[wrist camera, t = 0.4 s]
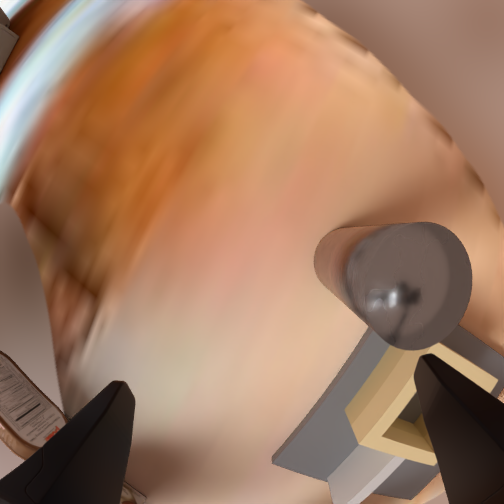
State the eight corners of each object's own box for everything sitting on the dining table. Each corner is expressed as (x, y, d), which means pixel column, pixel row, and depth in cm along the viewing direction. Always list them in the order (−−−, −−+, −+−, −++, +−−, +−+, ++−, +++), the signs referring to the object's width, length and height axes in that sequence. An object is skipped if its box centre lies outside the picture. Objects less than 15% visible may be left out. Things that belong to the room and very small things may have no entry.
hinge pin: (355, 304, 23) (432, 367, 11) (301, 273, 23) (339, 316, 11) (387, 248, 23) (488, 262, 10) (334, 215, 23) (405, 196, 10)
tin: (-9, 350, 25) (-56, 371, 17) (-5, 333, 25) (-55, 352, 17) (79, 440, 25) (41, 481, 17) (87, 426, 25) (46, 469, 17)
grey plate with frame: (408, 494, 24) (424, 526, 18) (271, 456, 24) (272, 500, 18) (510, 363, 23) (544, 382, 17) (394, 283, 23) (429, 297, 17)
